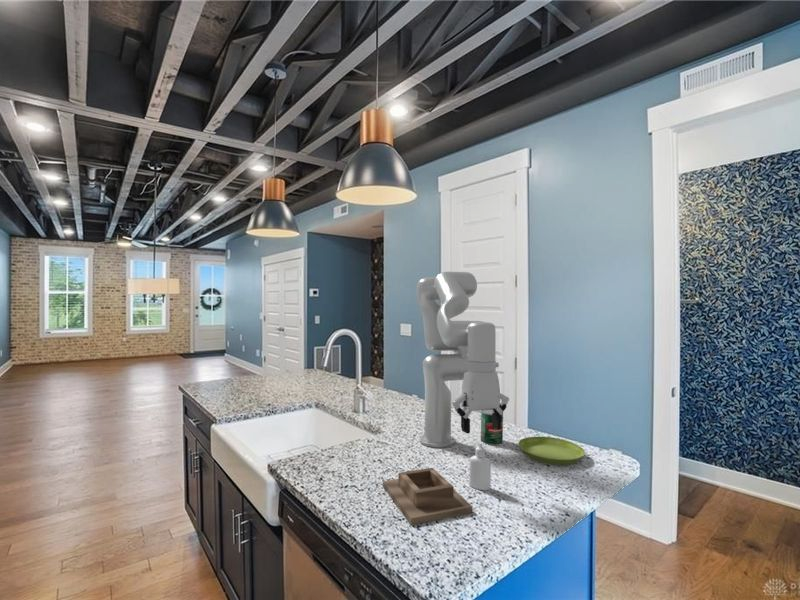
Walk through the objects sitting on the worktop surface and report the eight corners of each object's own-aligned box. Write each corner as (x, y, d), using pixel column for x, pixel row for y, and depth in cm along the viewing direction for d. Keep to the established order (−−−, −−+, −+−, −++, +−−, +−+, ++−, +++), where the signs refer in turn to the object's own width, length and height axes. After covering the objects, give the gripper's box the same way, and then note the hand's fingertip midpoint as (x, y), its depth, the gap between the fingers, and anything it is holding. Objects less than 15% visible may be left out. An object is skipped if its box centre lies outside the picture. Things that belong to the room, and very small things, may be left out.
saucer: (505, 449, 140) (506, 439, 140) (553, 442, 147) (553, 433, 147) (547, 473, 120) (547, 462, 121) (599, 464, 128) (599, 454, 128)
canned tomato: (493, 447, 141) (494, 415, 141) (476, 440, 147) (476, 410, 147) (507, 442, 146) (507, 412, 146) (489, 436, 152) (490, 407, 152)
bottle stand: (382, 486, 109) (382, 468, 109) (435, 478, 115) (435, 460, 115) (410, 525, 91) (411, 502, 91) (472, 512, 97) (472, 491, 97)
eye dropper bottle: (479, 481, 114) (479, 439, 114) (492, 489, 109) (493, 445, 109) (466, 484, 111) (467, 441, 112) (480, 493, 107) (480, 447, 107)
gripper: (499, 364, 117) (499, 423, 116) (446, 366, 111) (446, 429, 110) (516, 367, 110) (516, 431, 109) (460, 370, 103) (460, 437, 103)
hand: (481, 430), depth 110 cm, fingers open, 9 cm apart
